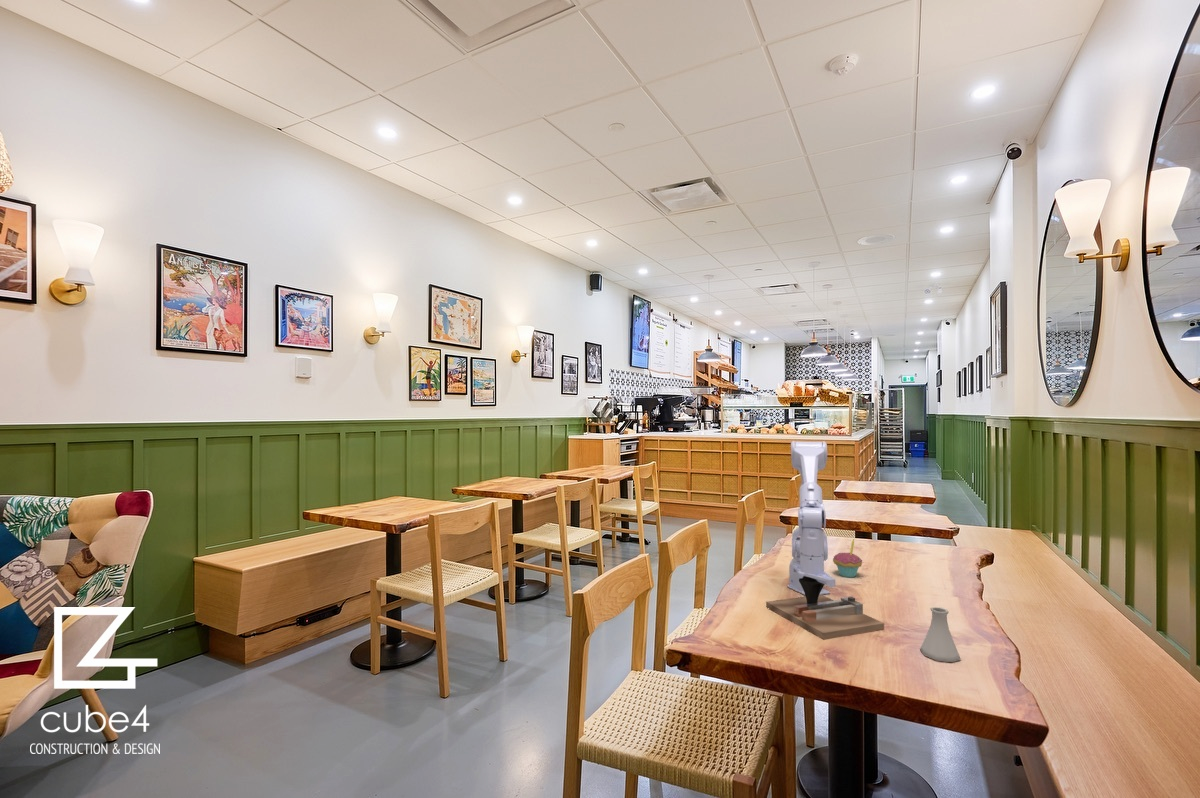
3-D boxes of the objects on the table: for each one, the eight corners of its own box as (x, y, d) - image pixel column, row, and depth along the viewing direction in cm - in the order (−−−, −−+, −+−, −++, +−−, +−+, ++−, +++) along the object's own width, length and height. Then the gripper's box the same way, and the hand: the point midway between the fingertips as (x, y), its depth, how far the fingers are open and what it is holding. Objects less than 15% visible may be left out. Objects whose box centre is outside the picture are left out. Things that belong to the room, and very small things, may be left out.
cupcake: (863, 574, 179) (863, 536, 179) (860, 580, 172) (859, 542, 172) (835, 569, 184) (835, 533, 184) (830, 576, 176) (830, 538, 177)
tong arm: (838, 607, 144) (838, 599, 144) (843, 609, 143) (843, 601, 143) (794, 614, 140) (793, 605, 140) (798, 616, 138) (798, 608, 138)
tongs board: (766, 607, 149) (766, 589, 149) (820, 599, 155) (820, 582, 155) (823, 639, 128) (823, 618, 128) (884, 629, 134) (884, 609, 134)
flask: (913, 649, 123) (912, 604, 123) (944, 647, 124) (943, 603, 124) (935, 664, 116) (935, 616, 116) (968, 662, 117) (967, 615, 117)
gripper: (781, 548, 148) (781, 599, 148) (818, 562, 134) (819, 619, 134) (803, 546, 150) (803, 596, 150) (842, 560, 136) (842, 615, 136)
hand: (812, 607), depth 142 cm, fingers closed
